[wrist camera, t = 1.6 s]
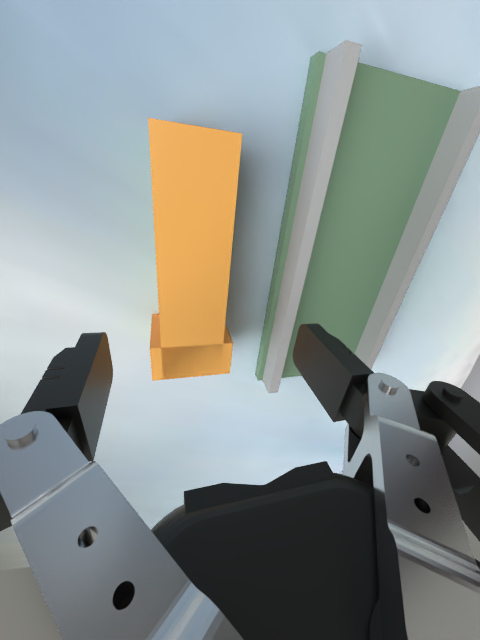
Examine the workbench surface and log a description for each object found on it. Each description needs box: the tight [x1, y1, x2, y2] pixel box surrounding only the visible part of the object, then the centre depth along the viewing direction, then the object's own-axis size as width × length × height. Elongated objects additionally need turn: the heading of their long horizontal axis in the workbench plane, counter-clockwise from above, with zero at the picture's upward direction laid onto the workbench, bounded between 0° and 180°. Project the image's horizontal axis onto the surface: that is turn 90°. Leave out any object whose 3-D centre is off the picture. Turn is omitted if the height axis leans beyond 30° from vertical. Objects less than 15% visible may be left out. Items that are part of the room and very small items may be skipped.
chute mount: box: [255, 40, 480, 393], centre depth 23 cm, size 26×13×3 cm, turn 174°
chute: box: [148, 118, 242, 380], centre depth 18 cm, size 16×6×5 cm, turn 174°
